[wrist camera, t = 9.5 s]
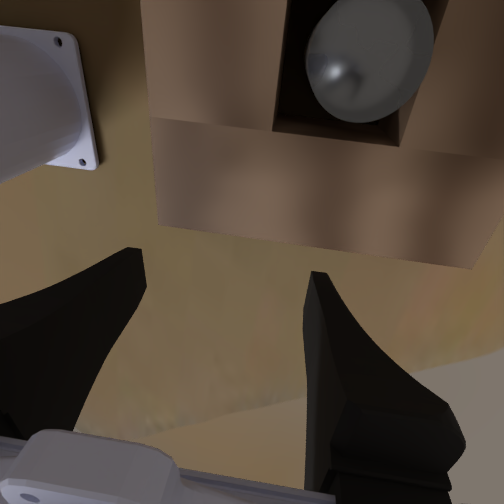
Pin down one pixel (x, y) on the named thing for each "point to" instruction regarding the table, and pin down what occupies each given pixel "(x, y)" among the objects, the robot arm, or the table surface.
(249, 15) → the hole block
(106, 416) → the table surface
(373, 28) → the dark metallic cylinder
